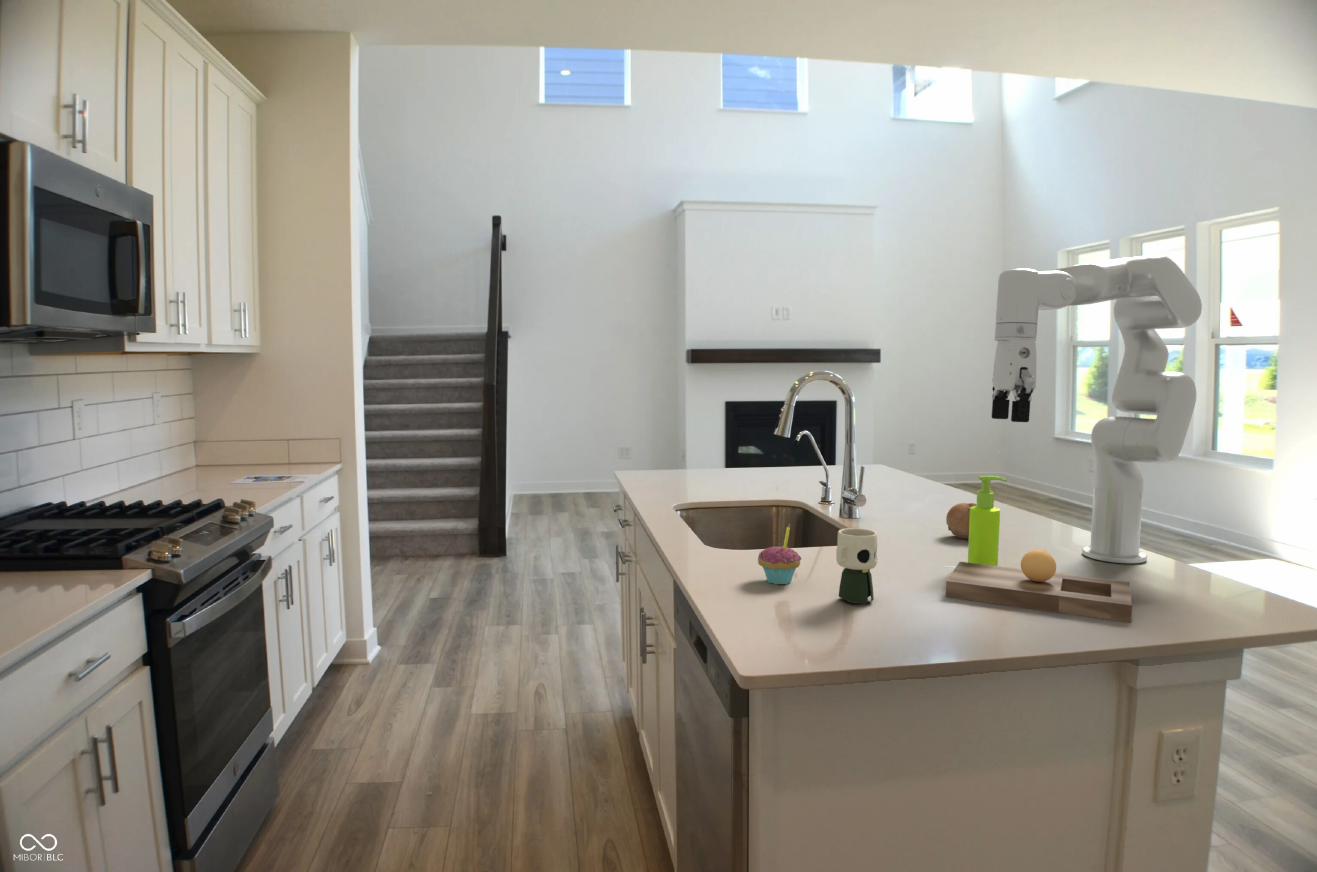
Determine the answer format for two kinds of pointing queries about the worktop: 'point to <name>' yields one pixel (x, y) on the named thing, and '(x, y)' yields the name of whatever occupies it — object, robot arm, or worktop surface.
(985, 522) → the soap dispenser
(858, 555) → the character mug
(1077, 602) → the board
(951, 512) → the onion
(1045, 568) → the ball
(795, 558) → the cupcake
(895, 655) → the worktop surface
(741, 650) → the worktop surface
